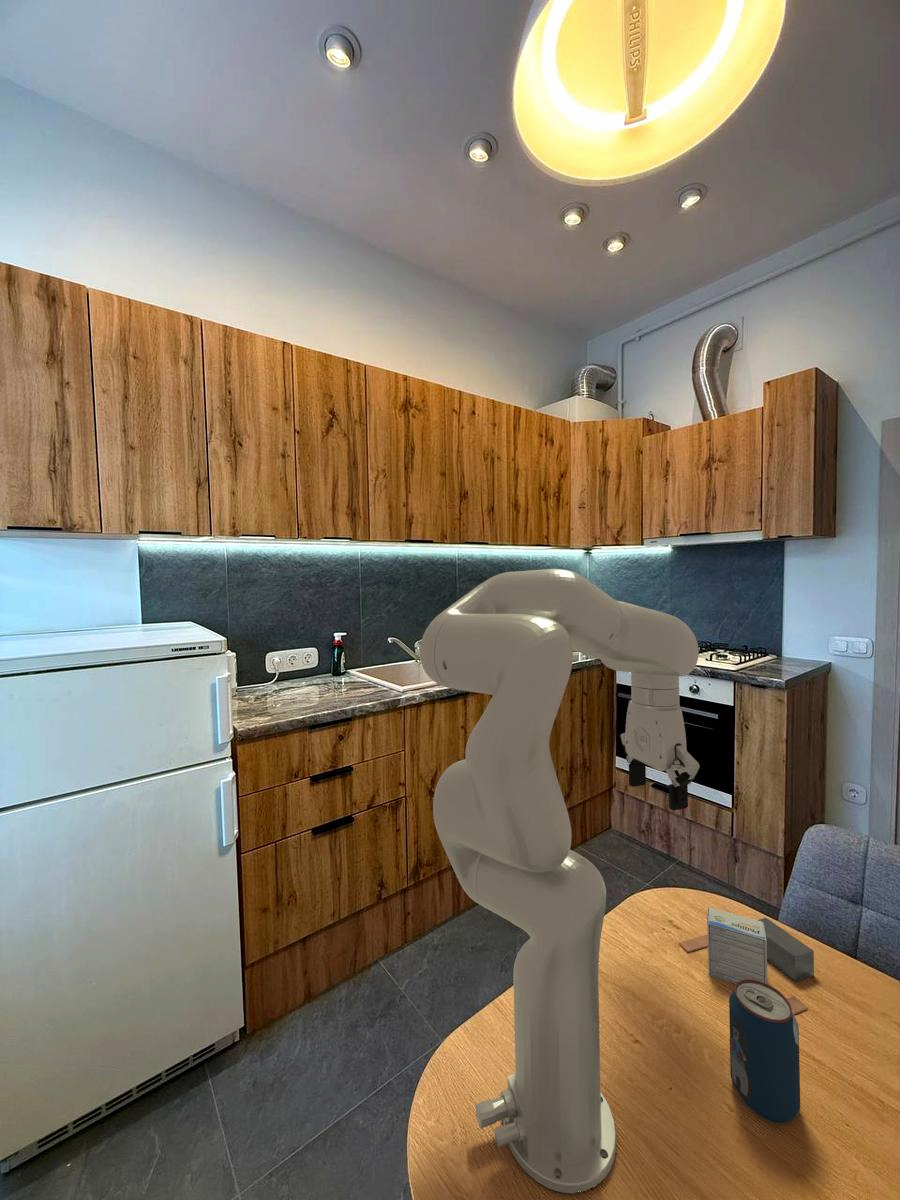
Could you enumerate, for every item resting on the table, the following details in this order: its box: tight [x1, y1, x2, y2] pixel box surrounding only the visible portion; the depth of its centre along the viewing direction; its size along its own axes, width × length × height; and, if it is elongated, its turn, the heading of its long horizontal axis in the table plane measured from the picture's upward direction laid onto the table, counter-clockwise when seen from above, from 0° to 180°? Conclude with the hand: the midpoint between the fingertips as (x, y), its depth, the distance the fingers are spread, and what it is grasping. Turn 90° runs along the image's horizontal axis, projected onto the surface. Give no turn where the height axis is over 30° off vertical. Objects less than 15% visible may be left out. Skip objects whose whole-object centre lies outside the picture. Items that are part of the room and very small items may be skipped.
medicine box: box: [706, 907, 768, 985], centre depth 73 cm, size 8×4×9 cm, turn 61°
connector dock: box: [678, 917, 815, 1016], centre depth 75 cm, size 15×16×4 cm
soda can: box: [728, 979, 801, 1125], centre depth 55 cm, size 7×7×12 cm
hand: (656, 796), depth 79 cm, fingers open, 9 cm apart
